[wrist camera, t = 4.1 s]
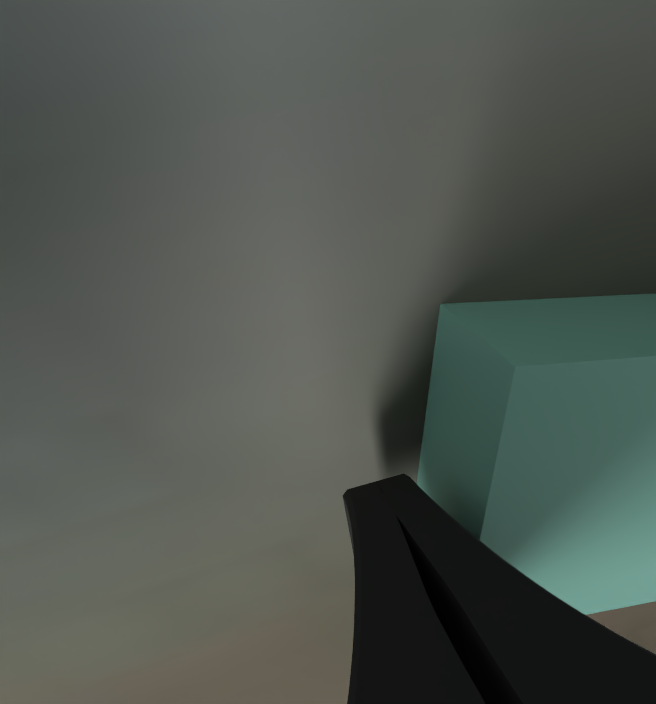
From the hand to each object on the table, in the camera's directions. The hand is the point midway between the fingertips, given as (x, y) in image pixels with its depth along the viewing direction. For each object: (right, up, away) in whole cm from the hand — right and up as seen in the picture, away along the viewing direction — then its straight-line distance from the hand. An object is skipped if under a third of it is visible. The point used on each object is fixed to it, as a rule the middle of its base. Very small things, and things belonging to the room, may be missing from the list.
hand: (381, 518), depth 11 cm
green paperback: (+5, +2, +2) cm, 6 cm away
